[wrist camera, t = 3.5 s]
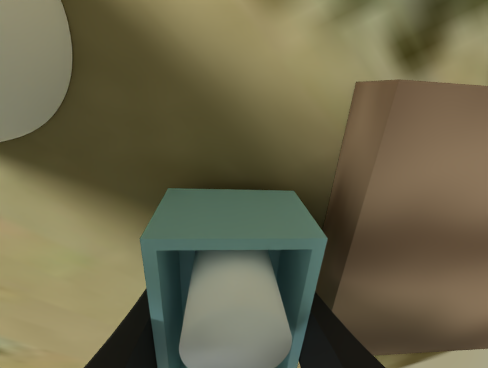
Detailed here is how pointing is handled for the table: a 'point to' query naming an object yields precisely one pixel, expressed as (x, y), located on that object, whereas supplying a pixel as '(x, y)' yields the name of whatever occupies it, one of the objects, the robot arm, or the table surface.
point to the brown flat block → (411, 219)
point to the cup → (32, 64)
